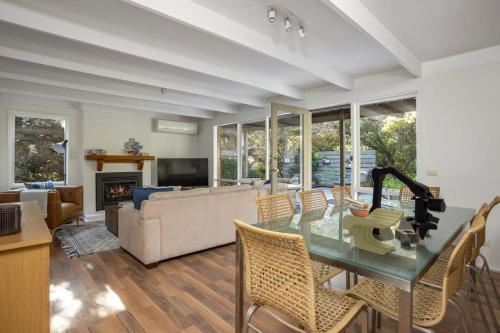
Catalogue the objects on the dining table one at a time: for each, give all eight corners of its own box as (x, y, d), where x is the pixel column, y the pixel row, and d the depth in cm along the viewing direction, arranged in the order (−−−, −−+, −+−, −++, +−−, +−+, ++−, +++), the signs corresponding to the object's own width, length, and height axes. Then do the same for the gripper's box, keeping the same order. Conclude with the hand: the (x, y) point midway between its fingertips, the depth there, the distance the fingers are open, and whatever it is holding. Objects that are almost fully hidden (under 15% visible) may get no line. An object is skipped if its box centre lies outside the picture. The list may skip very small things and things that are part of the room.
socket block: (403, 241, 145) (403, 234, 145) (394, 236, 155) (394, 229, 155) (422, 241, 145) (422, 234, 144) (412, 236, 155) (412, 229, 154)
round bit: (403, 246, 137) (403, 234, 137) (398, 243, 142) (399, 232, 142) (412, 246, 137) (412, 234, 137) (407, 243, 142) (407, 232, 141)
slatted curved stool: (373, 238, 151) (374, 207, 150) (403, 245, 138) (404, 211, 137) (342, 249, 133) (342, 213, 132) (373, 259, 120) (373, 219, 119)
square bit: (418, 245, 138) (419, 228, 138) (415, 243, 141) (416, 226, 141) (424, 245, 138) (425, 228, 138) (421, 243, 141) (422, 226, 141)
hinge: (396, 229, 169) (399, 214, 171) (399, 231, 172) (402, 216, 173) (426, 236, 155) (428, 219, 157) (429, 237, 158) (431, 220, 160)
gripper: (449, 213, 129) (448, 245, 130) (426, 206, 148) (425, 234, 149) (425, 212, 130) (424, 244, 131) (405, 206, 149) (405, 233, 149)
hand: (420, 238), depth 140 cm, fingers closed on square bit, 3 cm apart
